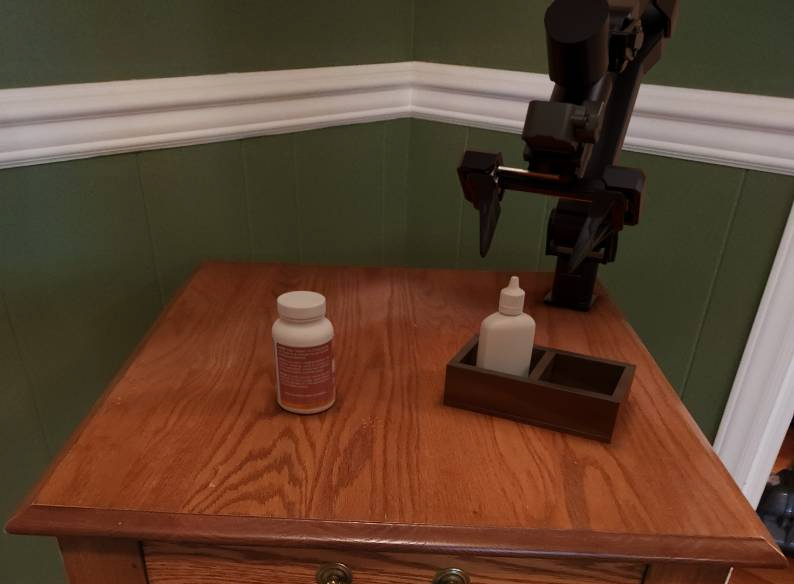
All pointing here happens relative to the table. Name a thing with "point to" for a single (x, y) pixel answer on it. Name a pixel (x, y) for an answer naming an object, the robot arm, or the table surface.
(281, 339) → the pill bottle
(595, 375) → the box
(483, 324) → the eye dropper bottle
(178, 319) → the table surface
